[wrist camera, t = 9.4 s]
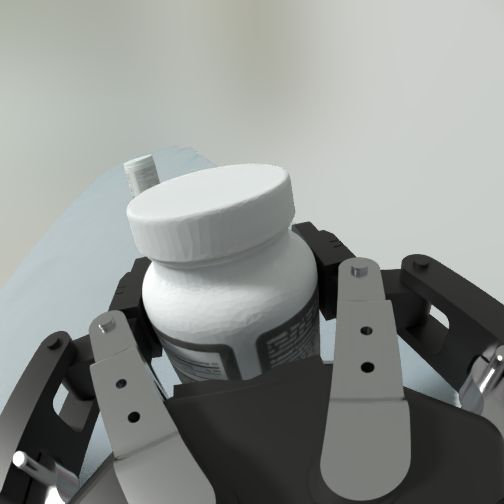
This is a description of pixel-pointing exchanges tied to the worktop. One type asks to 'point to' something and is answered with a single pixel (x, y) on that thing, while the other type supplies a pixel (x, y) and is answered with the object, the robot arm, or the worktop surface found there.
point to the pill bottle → (227, 272)
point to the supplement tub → (141, 174)
